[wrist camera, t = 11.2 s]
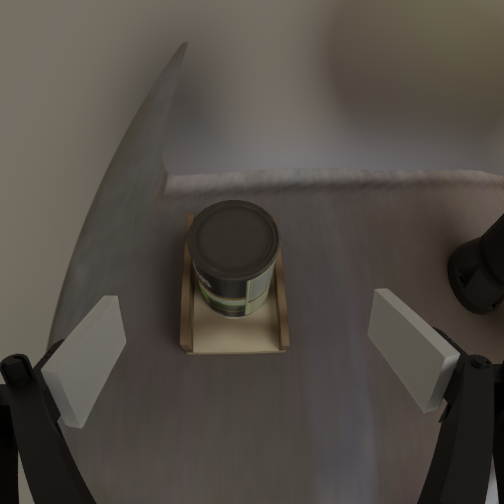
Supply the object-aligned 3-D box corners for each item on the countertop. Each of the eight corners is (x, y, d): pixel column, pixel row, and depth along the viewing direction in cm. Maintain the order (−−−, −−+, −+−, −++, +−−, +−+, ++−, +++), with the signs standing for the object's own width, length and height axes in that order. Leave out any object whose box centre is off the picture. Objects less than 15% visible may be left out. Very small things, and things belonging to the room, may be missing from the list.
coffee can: (210, 328, 43) (198, 290, 30) (194, 266, 47) (179, 211, 35) (279, 308, 45) (294, 264, 32) (257, 249, 49) (263, 191, 37)
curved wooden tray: (285, 352, 43) (292, 342, 37) (187, 354, 42) (179, 344, 36) (274, 234, 53) (278, 211, 47) (192, 236, 52) (187, 213, 46)
